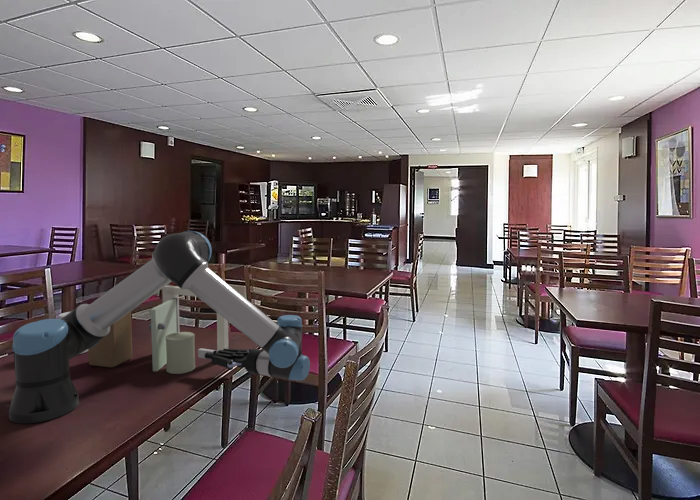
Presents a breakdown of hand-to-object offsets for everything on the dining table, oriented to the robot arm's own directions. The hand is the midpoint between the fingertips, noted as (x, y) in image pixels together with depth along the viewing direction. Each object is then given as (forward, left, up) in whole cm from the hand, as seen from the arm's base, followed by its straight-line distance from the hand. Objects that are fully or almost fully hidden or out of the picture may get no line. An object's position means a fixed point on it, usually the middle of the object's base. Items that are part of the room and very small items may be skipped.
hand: (199, 352), depth 138 cm
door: (+3, +16, -6) cm, 18 cm away
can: (0, +8, -7) cm, 10 cm away
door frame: (+12, +12, -7) cm, 18 cm away
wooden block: (-4, +34, -7) cm, 35 cm away
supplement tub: (-1, +55, -7) cm, 56 cm away
